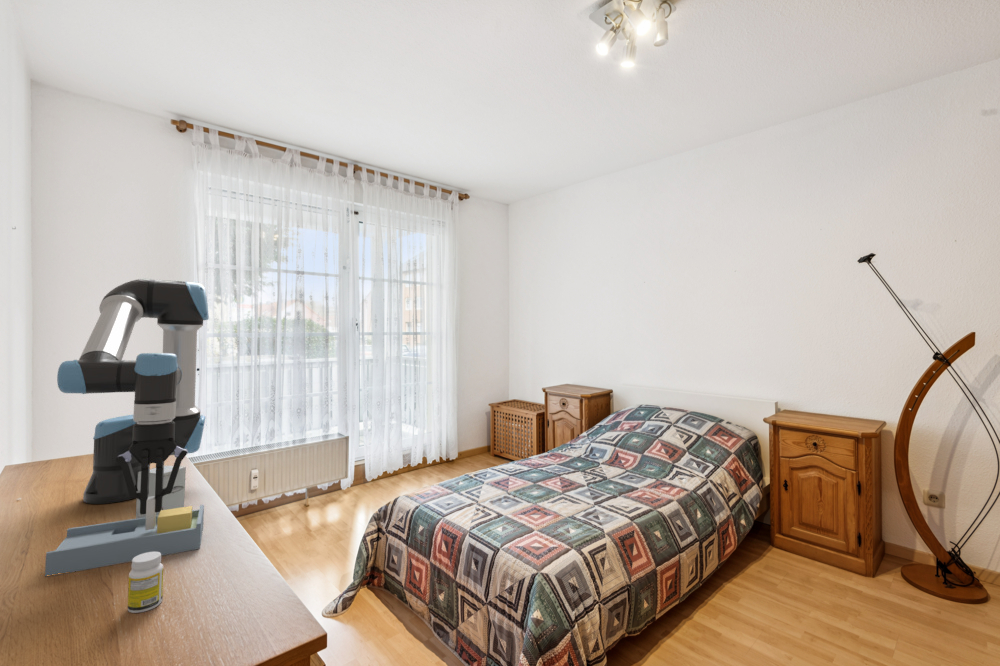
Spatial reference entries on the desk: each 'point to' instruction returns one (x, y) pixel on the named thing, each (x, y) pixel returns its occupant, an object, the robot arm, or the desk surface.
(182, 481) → the supplement box
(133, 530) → the tray
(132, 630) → the desk surface
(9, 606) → the desk surface
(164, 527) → the block
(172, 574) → the desk surface
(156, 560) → the supplement bottle
